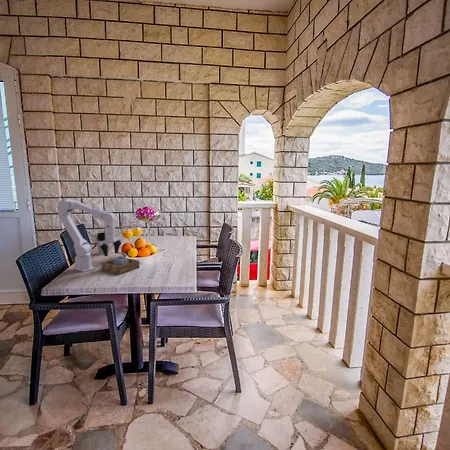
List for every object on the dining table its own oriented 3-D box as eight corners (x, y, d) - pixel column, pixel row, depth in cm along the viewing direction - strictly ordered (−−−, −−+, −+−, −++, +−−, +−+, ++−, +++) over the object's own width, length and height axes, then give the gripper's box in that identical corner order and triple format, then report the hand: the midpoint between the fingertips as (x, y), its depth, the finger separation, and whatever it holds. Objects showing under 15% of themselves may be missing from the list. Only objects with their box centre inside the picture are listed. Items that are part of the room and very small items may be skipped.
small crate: (113, 267, 180) (112, 258, 179) (120, 265, 185) (119, 256, 184) (122, 269, 176) (121, 260, 175) (128, 267, 181) (128, 258, 180)
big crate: (102, 270, 179) (101, 262, 178) (122, 263, 191) (121, 257, 190) (119, 274, 170) (119, 267, 170) (139, 267, 183) (139, 260, 182)
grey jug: (103, 251, 221) (102, 231, 219) (119, 253, 217) (117, 233, 214) (94, 254, 213) (93, 234, 210) (110, 256, 208) (109, 235, 206)
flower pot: (120, 262, 195) (119, 249, 193) (121, 258, 204) (120, 246, 202) (135, 261, 197) (134, 248, 196) (135, 257, 206) (135, 245, 205)
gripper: (103, 235, 168) (105, 258, 171) (124, 231, 181) (125, 252, 183) (96, 234, 172) (97, 256, 174) (116, 230, 184) (117, 251, 187)
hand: (111, 254), depth 179 cm, fingers open, 7 cm apart
